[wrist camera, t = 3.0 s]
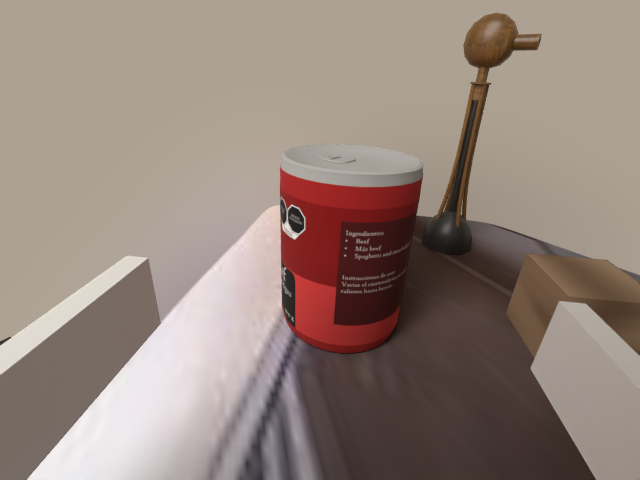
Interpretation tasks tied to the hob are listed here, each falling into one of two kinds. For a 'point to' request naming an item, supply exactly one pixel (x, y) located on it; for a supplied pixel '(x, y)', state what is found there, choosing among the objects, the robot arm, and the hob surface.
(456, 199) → the wooden tabletop sculpture
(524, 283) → the walnut block
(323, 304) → the canned food
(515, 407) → the hob surface
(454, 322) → the hob surface
